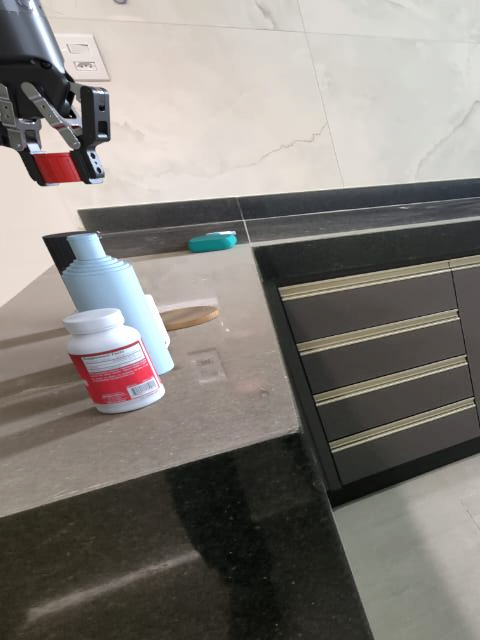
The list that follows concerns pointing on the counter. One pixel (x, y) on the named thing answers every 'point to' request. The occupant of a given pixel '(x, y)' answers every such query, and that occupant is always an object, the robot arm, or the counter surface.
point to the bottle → (113, 293)
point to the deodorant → (61, 249)
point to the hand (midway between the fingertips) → (71, 184)
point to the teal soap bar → (213, 242)
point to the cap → (57, 167)
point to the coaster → (188, 316)
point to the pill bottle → (112, 361)
